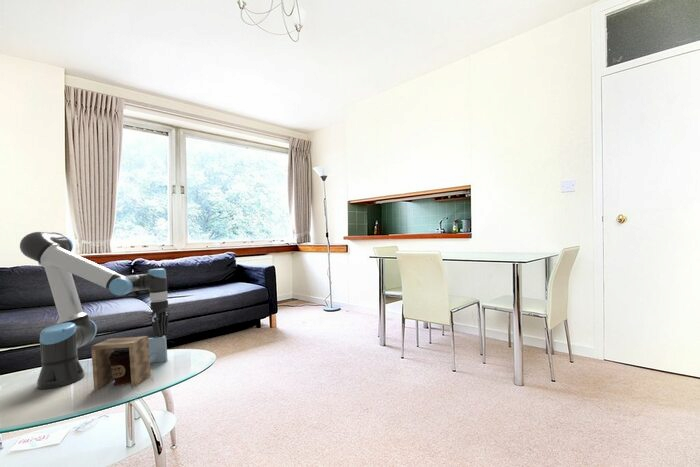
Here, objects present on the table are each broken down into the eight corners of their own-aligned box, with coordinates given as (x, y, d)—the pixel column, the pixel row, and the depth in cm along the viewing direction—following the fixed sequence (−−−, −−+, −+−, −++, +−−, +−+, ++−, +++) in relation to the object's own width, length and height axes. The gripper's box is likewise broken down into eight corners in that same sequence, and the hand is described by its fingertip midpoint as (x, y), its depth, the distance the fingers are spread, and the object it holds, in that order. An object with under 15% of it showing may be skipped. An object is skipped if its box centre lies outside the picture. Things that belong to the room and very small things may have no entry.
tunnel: (112, 380, 142) (109, 338, 142) (150, 377, 142) (148, 335, 142) (94, 390, 132) (91, 346, 132) (135, 387, 132) (132, 343, 132)
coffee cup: (123, 388, 131) (120, 354, 132) (104, 388, 133) (102, 354, 133) (141, 379, 140) (139, 347, 140) (123, 379, 142) (121, 347, 142)
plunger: (145, 362, 160) (143, 338, 160) (168, 360, 160) (167, 336, 160) (119, 377, 142) (117, 351, 142) (145, 375, 142) (143, 349, 142)
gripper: (158, 298, 172) (161, 346, 172) (143, 303, 159) (146, 354, 159) (173, 297, 172) (176, 344, 172) (159, 302, 159) (162, 353, 159)
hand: (162, 349), depth 165 cm, fingers closed
